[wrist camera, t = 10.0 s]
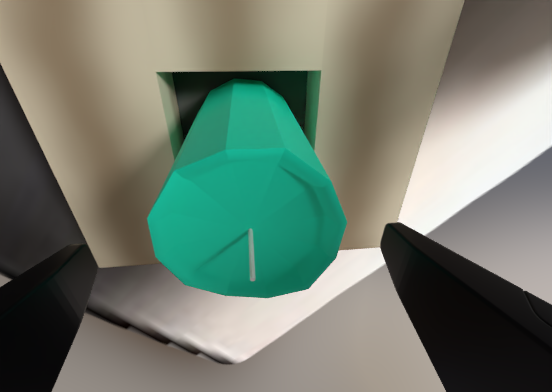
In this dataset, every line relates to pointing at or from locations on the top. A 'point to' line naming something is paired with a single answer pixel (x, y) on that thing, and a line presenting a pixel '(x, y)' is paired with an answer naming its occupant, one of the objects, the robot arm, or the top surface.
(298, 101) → the top surface
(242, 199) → the candle
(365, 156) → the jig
